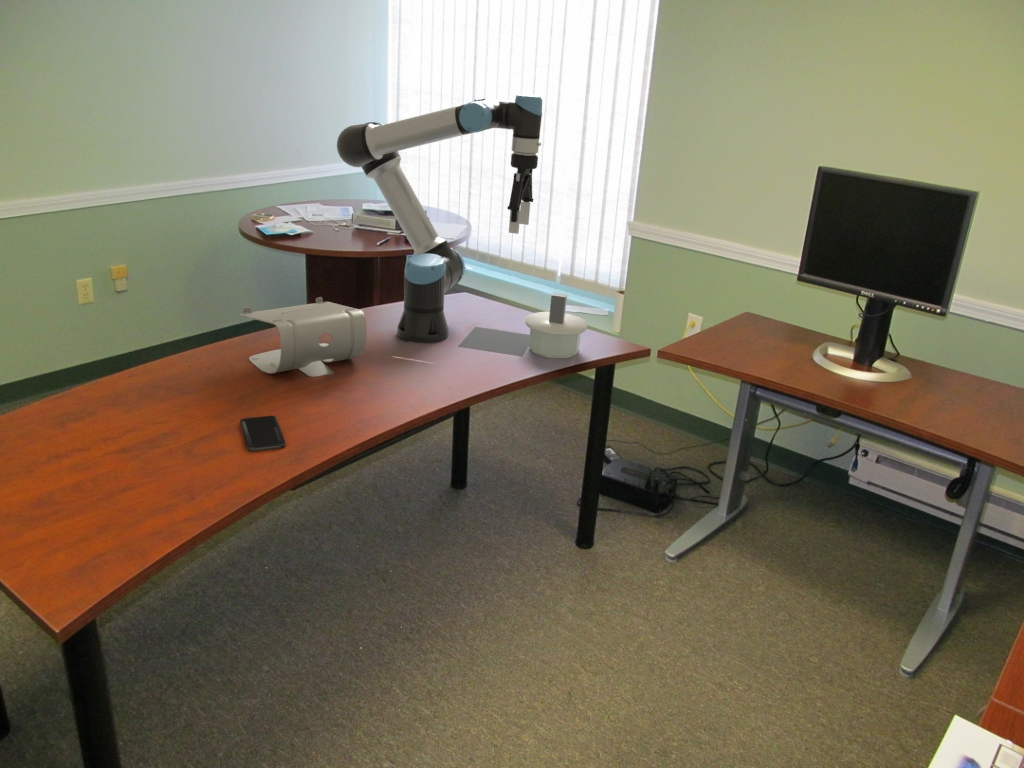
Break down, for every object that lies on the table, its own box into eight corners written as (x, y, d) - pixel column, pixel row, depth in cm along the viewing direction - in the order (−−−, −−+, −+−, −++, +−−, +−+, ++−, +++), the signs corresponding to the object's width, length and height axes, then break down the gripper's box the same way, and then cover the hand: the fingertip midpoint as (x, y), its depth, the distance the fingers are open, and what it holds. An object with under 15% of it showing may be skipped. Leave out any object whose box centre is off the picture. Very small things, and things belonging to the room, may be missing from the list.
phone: (247, 449, 170) (239, 418, 182) (248, 453, 170) (239, 423, 183) (286, 444, 173) (276, 414, 185) (286, 449, 173) (276, 419, 186)
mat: (457, 347, 236) (457, 346, 236) (475, 327, 254) (475, 326, 253) (521, 357, 233) (521, 356, 233) (535, 336, 250) (535, 335, 250)
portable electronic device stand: (278, 387, 201) (276, 327, 195) (240, 356, 218) (236, 300, 212) (369, 368, 217) (370, 312, 211) (327, 341, 233) (326, 288, 227)
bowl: (525, 354, 235) (527, 328, 232) (535, 339, 248) (537, 314, 245) (573, 362, 233) (576, 335, 230) (580, 346, 245) (583, 321, 242)
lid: (518, 334, 231) (521, 299, 227) (531, 316, 248) (534, 282, 243) (581, 344, 228) (585, 308, 224) (590, 324, 244) (594, 291, 240)
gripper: (528, 159, 217) (522, 238, 226) (546, 150, 240) (539, 222, 248) (501, 156, 219) (495, 235, 227) (521, 147, 241) (515, 219, 249)
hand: (518, 228), depth 238 cm, fingers open, 13 cm apart
